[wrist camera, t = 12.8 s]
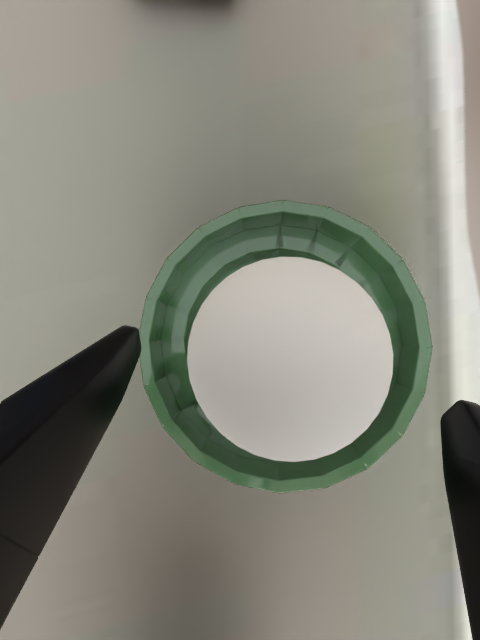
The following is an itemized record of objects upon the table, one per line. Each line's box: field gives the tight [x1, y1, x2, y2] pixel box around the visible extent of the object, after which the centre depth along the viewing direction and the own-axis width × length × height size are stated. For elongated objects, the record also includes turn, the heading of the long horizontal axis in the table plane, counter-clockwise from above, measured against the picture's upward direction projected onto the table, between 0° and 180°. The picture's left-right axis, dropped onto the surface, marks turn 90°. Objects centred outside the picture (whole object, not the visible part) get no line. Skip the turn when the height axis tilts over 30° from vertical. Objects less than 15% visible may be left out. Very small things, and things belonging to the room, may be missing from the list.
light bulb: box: [187, 257, 393, 462], centre depth 13 cm, size 7×7×11 cm
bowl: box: [139, 200, 432, 493], centre depth 17 cm, size 14×14×4 cm
